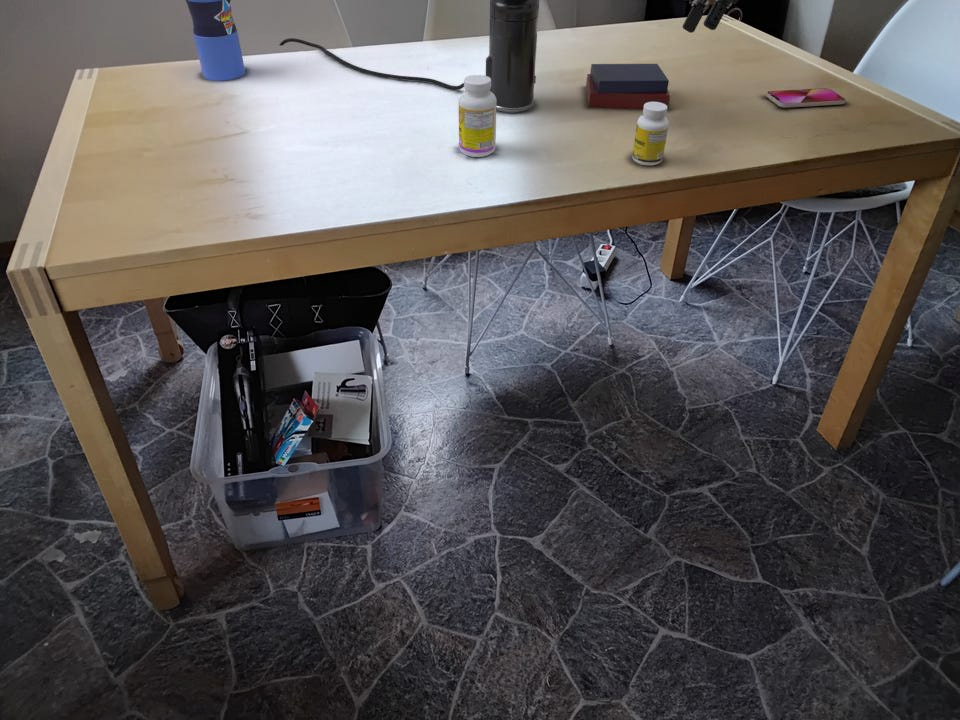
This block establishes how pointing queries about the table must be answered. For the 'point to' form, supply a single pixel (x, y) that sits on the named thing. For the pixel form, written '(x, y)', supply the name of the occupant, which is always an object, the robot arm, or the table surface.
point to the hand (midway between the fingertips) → (697, 29)
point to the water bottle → (216, 39)
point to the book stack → (626, 86)
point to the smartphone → (805, 97)
